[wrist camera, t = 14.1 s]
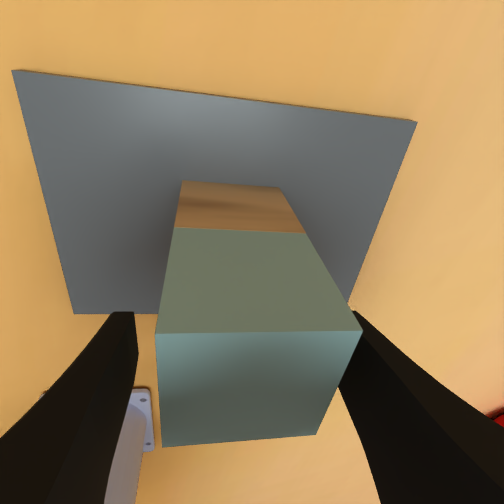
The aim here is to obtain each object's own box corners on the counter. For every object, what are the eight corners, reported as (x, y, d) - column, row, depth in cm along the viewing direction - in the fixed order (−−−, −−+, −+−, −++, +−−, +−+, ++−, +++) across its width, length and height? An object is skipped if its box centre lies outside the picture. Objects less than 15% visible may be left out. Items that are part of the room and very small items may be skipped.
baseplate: (340, 307, 22) (343, 313, 22) (77, 307, 19) (73, 314, 18) (410, 120, 15) (417, 122, 15) (19, 69, 12) (11, 70, 12)
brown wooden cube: (265, 264, 18) (283, 324, 14) (182, 262, 17) (175, 326, 13) (279, 187, 16) (306, 233, 12) (182, 180, 15) (174, 226, 11)
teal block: (282, 324, 14) (315, 434, 10) (175, 326, 13) (162, 447, 9) (305, 233, 12) (363, 330, 7) (173, 227, 11) (154, 333, 7)
